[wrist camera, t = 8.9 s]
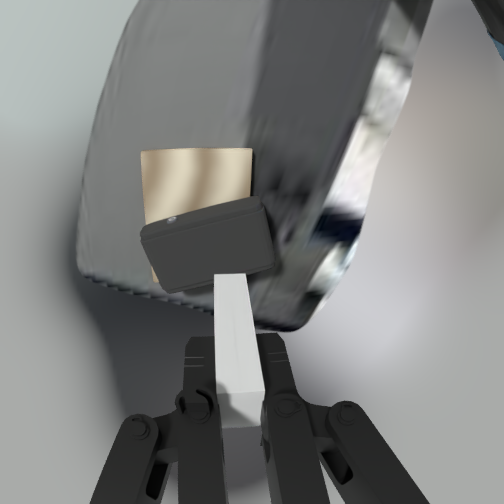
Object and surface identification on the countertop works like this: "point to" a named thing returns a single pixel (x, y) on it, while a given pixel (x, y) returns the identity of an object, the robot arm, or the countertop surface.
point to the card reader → (209, 244)
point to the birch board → (192, 180)
